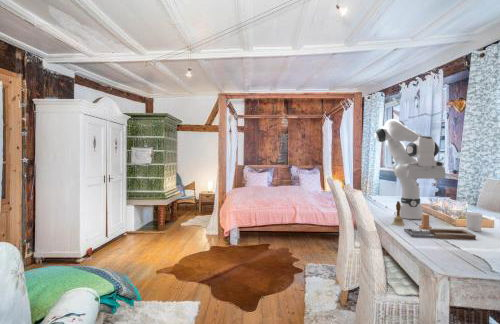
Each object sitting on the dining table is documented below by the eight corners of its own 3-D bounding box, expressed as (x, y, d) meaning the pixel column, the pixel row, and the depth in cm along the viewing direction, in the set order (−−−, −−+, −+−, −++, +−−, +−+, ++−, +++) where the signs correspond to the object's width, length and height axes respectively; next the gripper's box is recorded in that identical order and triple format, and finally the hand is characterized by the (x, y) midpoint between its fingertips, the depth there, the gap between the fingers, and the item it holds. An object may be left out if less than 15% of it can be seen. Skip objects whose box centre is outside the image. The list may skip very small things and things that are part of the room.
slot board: (425, 233, 167) (425, 227, 167) (462, 234, 163) (462, 228, 163) (436, 240, 153) (436, 234, 153) (476, 242, 150) (476, 236, 149)
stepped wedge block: (419, 229, 174) (419, 213, 174) (428, 230, 173) (428, 213, 173) (422, 231, 170) (422, 215, 169) (431, 232, 169) (431, 215, 168)
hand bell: (406, 228, 178) (406, 202, 178) (392, 227, 181) (392, 202, 180) (404, 224, 186) (404, 200, 186) (390, 223, 189) (390, 200, 188)
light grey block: (419, 234, 163) (419, 228, 163) (427, 234, 162) (427, 229, 162) (422, 236, 159) (422, 230, 159) (430, 236, 158) (430, 231, 158)
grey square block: (410, 233, 164) (410, 228, 164) (418, 234, 163) (418, 228, 163) (413, 235, 160) (413, 230, 160) (420, 236, 159) (420, 230, 159)
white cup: (480, 232, 166) (480, 215, 166) (463, 229, 172) (464, 213, 172) (483, 230, 171) (483, 213, 171) (467, 227, 177) (467, 211, 177)
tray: (404, 232, 168) (404, 228, 168) (426, 233, 166) (426, 229, 166) (411, 239, 156) (411, 234, 156) (436, 240, 154) (436, 235, 154)
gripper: (408, 163, 169) (408, 186, 169) (447, 163, 165) (446, 186, 165) (405, 162, 175) (404, 185, 175) (441, 162, 171) (441, 185, 172)
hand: (425, 186), depth 170 cm, fingers open, 8 cm apart
